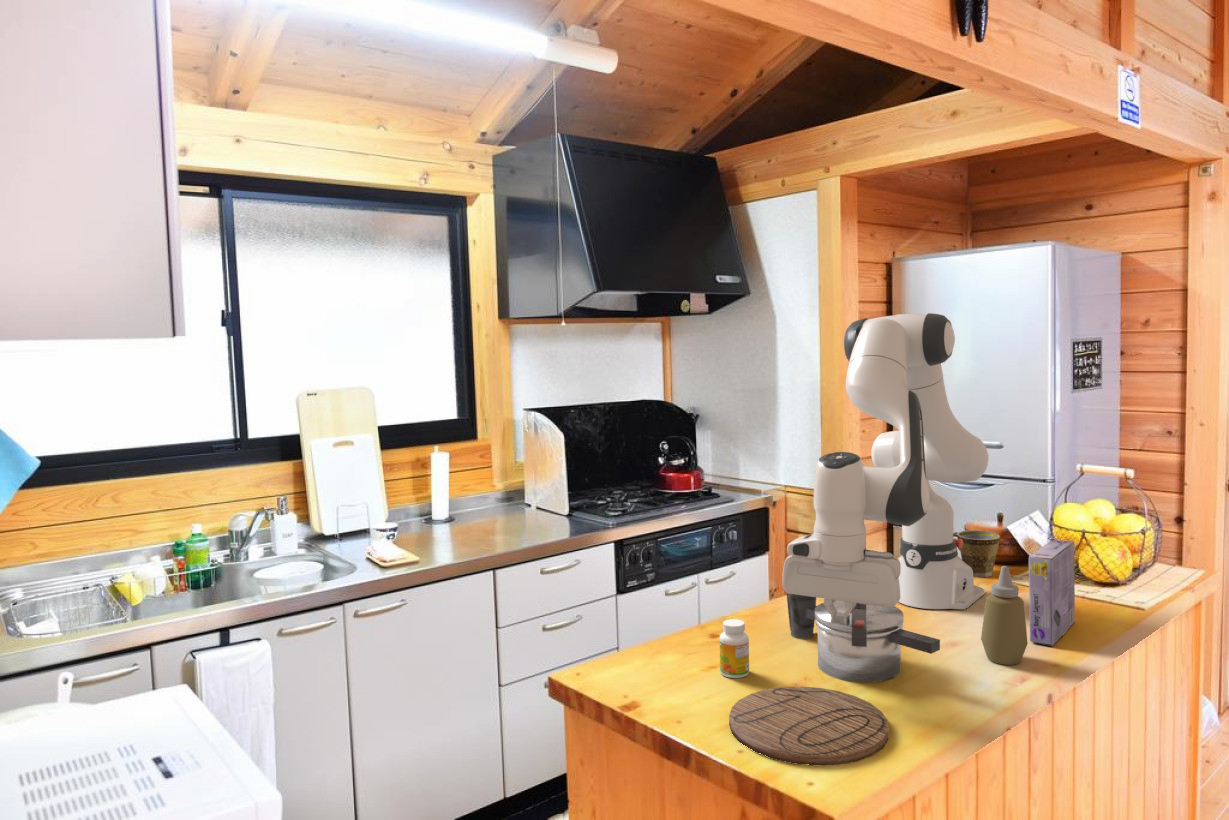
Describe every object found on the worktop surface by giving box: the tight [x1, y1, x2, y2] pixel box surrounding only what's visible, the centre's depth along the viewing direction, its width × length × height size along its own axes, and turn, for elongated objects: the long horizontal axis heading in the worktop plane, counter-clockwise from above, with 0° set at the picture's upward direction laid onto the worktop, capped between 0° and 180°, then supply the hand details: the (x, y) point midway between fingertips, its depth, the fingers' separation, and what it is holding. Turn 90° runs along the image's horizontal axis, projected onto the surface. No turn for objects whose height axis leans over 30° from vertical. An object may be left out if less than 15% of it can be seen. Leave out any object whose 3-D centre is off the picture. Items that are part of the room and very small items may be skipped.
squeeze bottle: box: [980, 565, 1028, 666], centre depth 168 cm, size 8×8×18 cm
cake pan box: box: [1028, 539, 1076, 647], centre depth 182 cm, size 19×5×18 cm, turn 140°
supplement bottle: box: [719, 618, 750, 679], centre depth 166 cm, size 5×5×10 cm
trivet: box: [728, 686, 889, 766], centre depth 144 cm, size 25×25×2 cm
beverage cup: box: [786, 593, 817, 639], centre depth 185 cm, size 7×7×20 cm
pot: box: [806, 605, 941, 683], centre depth 166 cm, size 16×27×9 cm, turn 40°
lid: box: [815, 600, 905, 647], centre depth 162 cm, size 16×26×5 cm, turn 165°
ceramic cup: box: [953, 529, 1001, 578], centre depth 226 cm, size 13×10×10 cm
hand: (840, 623), depth 157 cm, fingers closed
